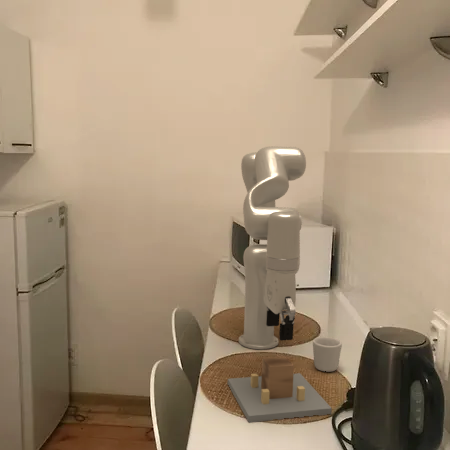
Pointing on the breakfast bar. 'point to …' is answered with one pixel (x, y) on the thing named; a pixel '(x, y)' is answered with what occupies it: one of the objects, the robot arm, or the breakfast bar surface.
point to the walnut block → (277, 376)
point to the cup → (326, 353)
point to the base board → (277, 400)
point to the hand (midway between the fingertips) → (279, 332)
